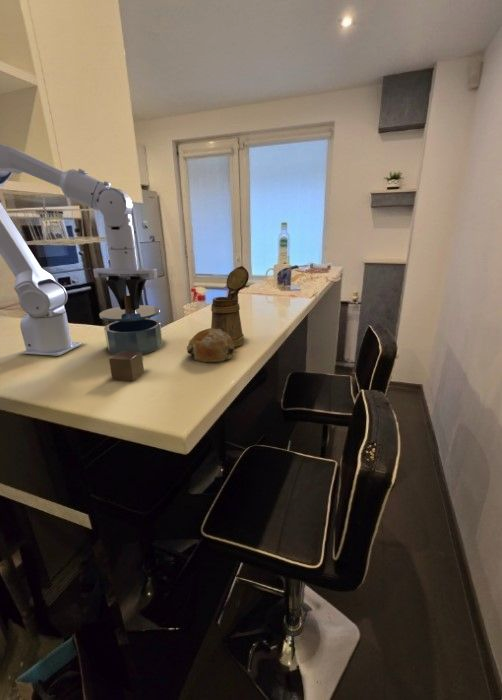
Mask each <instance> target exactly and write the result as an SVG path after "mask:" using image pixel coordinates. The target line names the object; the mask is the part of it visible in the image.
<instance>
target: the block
mask: <svg viewBox="0 0 502 700" xmlns="http://www.w3.org/2000/svg"><path fill="white" fill-rule="evenodd" d="M108 362H109V369H110V374H111V380H112V381H127V382H134V381H135V380H137V378H139V377H141V375H142V374H143V373H145V368H144V359H143V354H142V353H141V352H138V351H120V352H118V353H117V354H115V355H114V354H112V355H111V356H110V357H109V358H108Z"/></svg>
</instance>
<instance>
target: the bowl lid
mask: <svg viewBox="0 0 502 700" xmlns="http://www.w3.org/2000/svg"><path fill="white" fill-rule="evenodd" d="M123 301H124V308H125V309H124V310H121V309H120V306H117V307H112V308H108V309H105V310H103V311H101V312H99V314H98V317H99V319H101V320H104V321H110V322H116V321H122V322H124V321H137V320H142V319H146V318H148V319H151V318H153V317H155V316H158V315H159V314H160V313H161V309H160V307H158V306H154V305H148V304H147V305H145V304H140V305H139V309H137V310H132V307H131V300H130V295H129V293H126V294H124V295H123Z"/></svg>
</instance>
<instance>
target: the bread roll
mask: <svg viewBox="0 0 502 700" xmlns="http://www.w3.org/2000/svg"><path fill="white" fill-rule="evenodd" d="M187 344H188V345H187V346H186V350H187V351H186V352H187V354H189V355H190V357H191V358H192V359H193V360H195V361H197V362H201V363H219V362H224V361H226V360H230V359H232V358H233V354H234V351H235V347H234V343H233V340H232V338H231V337H230V336H229V334H227V333H226V332H224V331H222V330H221V329H214V328H211V327H210V328H206V329H204V330H200V331H198V332H197V333H196V334H195V335H194V336H192V337H191V339H190V340H189V341H188V343H187Z"/></svg>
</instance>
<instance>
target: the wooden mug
mask: <svg viewBox="0 0 502 700" xmlns="http://www.w3.org/2000/svg"><path fill="white" fill-rule="evenodd" d="M249 278H250V275H249V271H248V270H247V268H246V267H245V266H243V265H241V266H238V267H236V268H234V269H233V270H232V271H230V272H229V273H228V276H227V277H226V282H225V283H226V287H227V289H228V294H227V296H216V297H213V298H212V303H211V306H210V307H211V309H210V310H211V322H210V323H211V325H210V328H214V329H221V330H222V331H224V332H226V333H227V334H229V336H230V337H231V338H232V340H233V343H234V348H235V347H240V346H242V345H244V343H245V335H244V333H243V328H242V320H241V313H240V309H241V307H240V303H239V293H240V291H242V290H243V289H244V288H245V287H246V286H247V284H248V281H249Z"/></svg>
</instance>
